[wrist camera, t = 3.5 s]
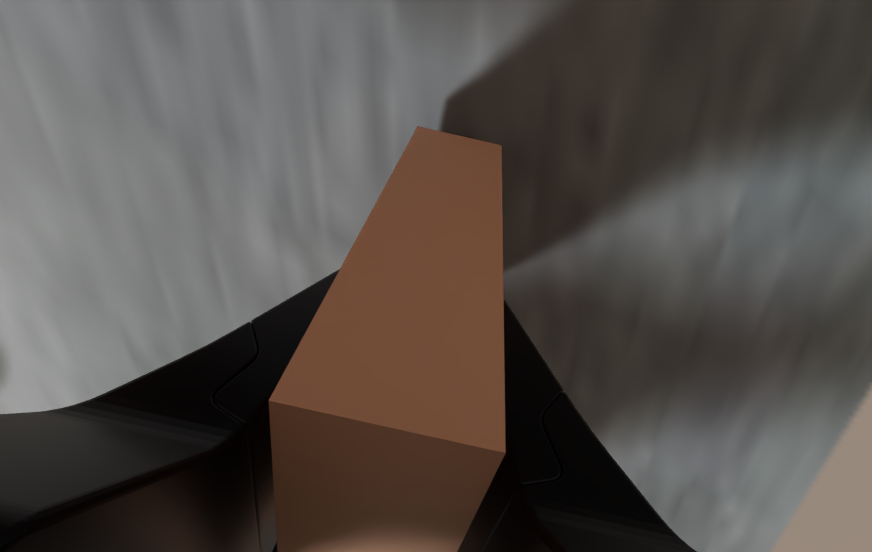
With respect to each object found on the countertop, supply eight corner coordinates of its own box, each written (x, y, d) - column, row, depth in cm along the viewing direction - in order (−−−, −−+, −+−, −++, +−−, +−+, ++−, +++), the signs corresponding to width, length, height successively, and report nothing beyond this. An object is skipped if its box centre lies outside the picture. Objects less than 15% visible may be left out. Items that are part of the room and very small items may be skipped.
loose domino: (501, 144, 10) (504, 452, 4) (456, 307, 13) (412, 641, 6) (417, 126, 10) (268, 401, 4) (390, 292, 13) (280, 613, 6)
